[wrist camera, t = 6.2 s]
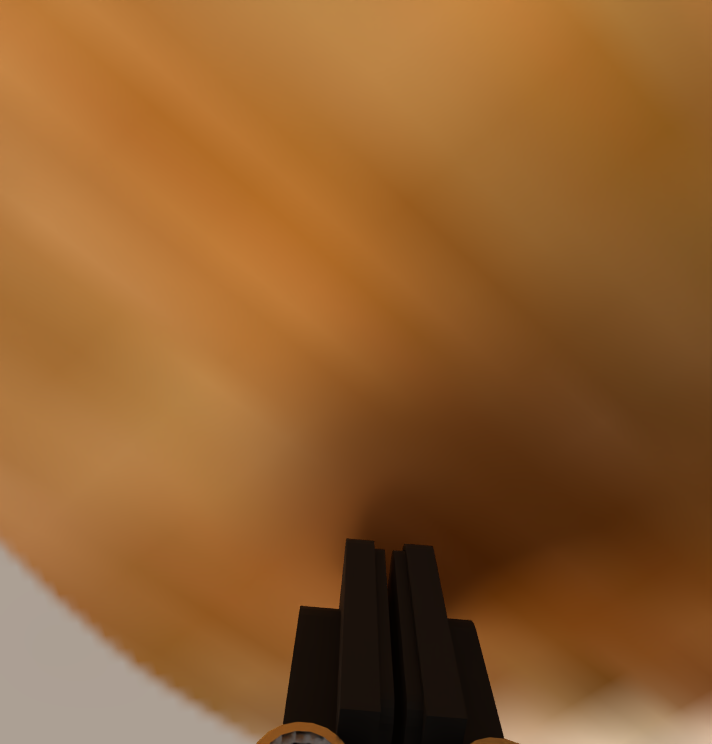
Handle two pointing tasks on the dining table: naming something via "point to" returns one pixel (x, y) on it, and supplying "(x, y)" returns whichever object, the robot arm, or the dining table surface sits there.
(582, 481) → the dining table surface
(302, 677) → the robot arm
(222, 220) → the dining table surface
